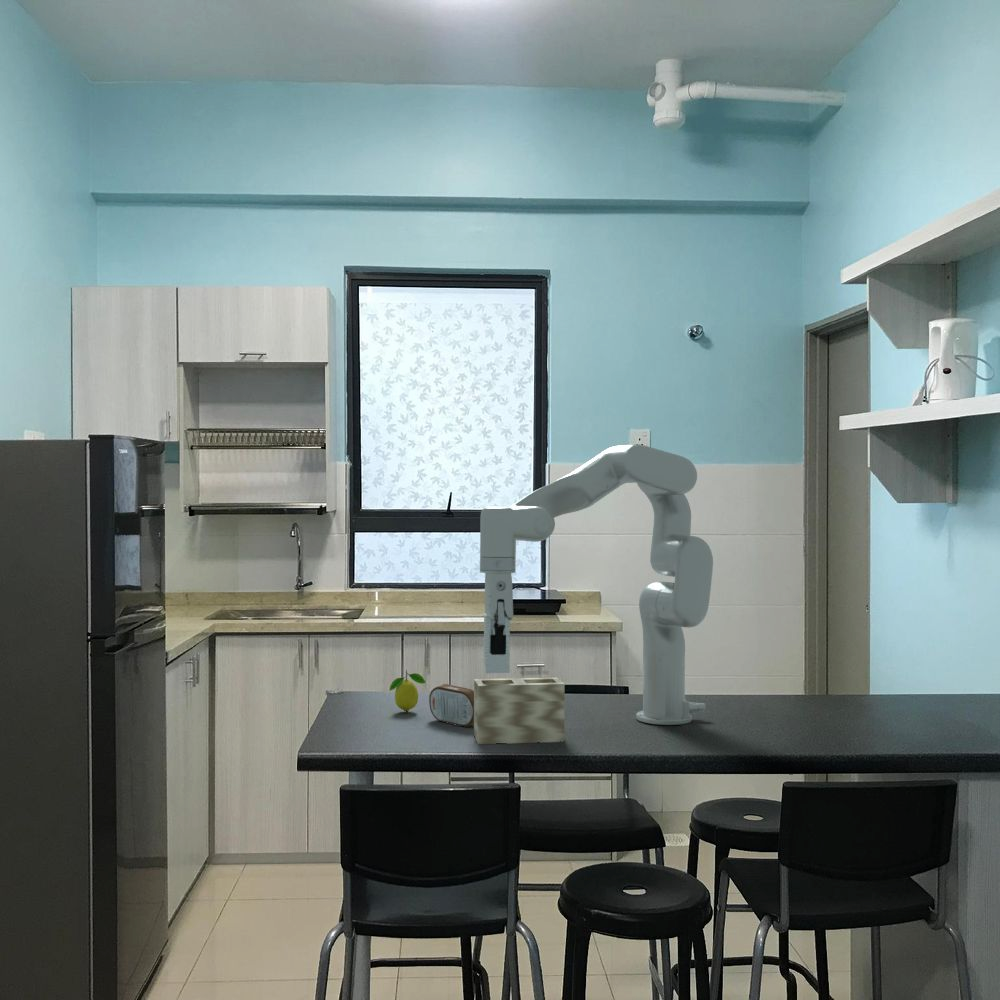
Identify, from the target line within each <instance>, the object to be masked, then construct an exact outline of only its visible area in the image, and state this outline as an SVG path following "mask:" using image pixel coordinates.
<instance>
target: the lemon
mask: <svg viewBox="0 0 1000 1000" xmlns="http://www.w3.org/2000/svg"><path fill="white" fill-rule="evenodd" d="M408 676H409V677H410V678H411V680H412V681H414V682H415V683H417V684H426V681H425V678H424V677H423V676H422V675H421V674H419V673H410V674H409V673H408V671H407V669H406V670H405V676H404V677H397V678H395V679H394V680H393V681H392V682H391V684H390V686H389V691H393V690H394V689H395V692H394V701H395V704H396V706H397V707H398V708H399V709H401V710H403V712H404V711H408V712H409V711H410V710H411V709H414V708H415V707H416V706H417V704H418V701H419V693H418V689H417V687H416V684H414V682H412V681H409V679H408Z"/></svg>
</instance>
